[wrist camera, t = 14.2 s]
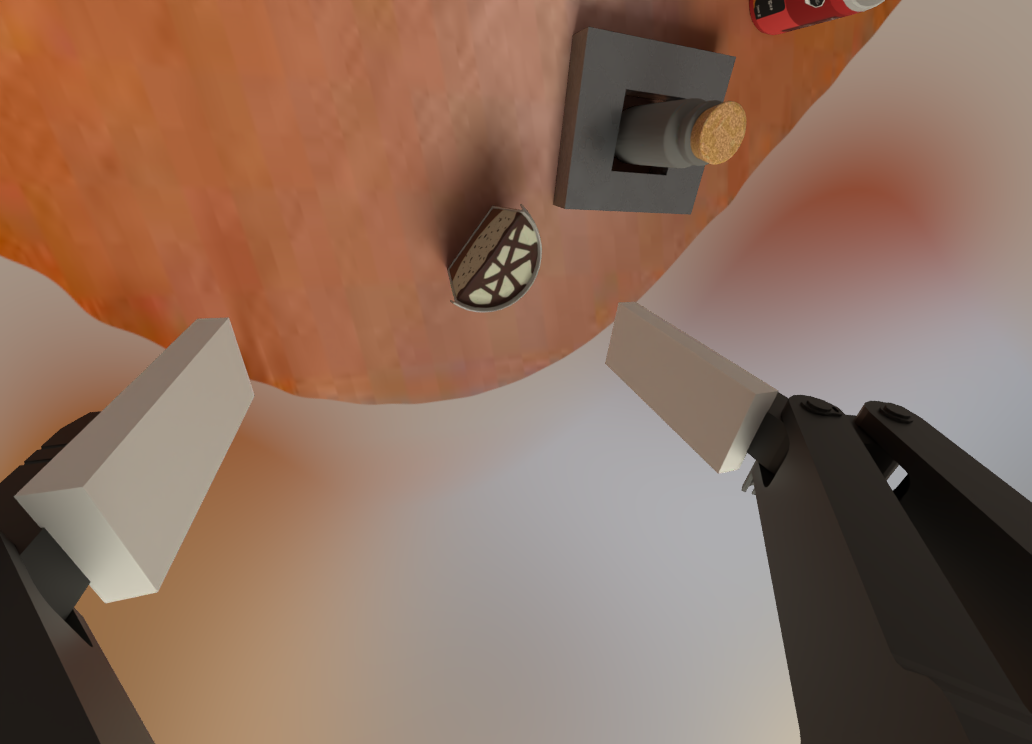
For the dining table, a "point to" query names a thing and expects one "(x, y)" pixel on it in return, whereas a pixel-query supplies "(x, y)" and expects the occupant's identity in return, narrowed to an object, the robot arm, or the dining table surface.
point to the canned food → (802, 12)
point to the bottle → (680, 133)
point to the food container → (497, 261)
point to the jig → (597, 113)
